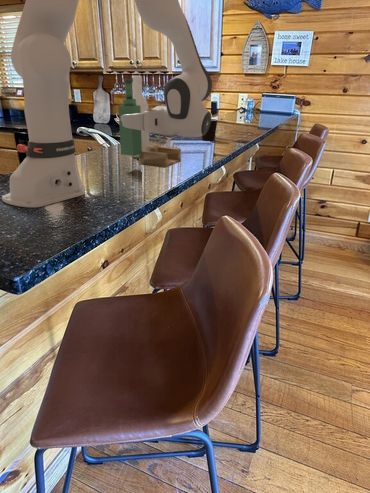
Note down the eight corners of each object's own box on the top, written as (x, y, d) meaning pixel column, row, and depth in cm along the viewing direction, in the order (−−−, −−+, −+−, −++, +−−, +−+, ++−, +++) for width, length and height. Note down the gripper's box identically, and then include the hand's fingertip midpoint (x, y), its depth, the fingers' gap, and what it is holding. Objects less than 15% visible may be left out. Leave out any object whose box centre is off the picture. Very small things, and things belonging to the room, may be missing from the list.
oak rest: (164, 167, 130) (164, 153, 128) (139, 164, 134) (138, 150, 132) (180, 161, 139) (180, 148, 137) (156, 158, 144) (156, 145, 142)
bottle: (146, 158, 144) (143, 75, 131) (128, 157, 146) (123, 75, 133) (152, 154, 151) (149, 75, 138) (134, 153, 153) (130, 75, 140)
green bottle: (133, 156, 123) (130, 78, 113) (120, 154, 126) (116, 77, 115) (141, 153, 128) (139, 78, 117) (129, 152, 130) (126, 78, 120)
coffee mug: (217, 141, 182) (218, 120, 177) (200, 141, 182) (200, 120, 178) (215, 138, 192) (216, 118, 188) (199, 137, 192) (200, 118, 188)
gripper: (178, 108, 123) (144, 106, 129) (145, 111, 107) (108, 109, 112) (178, 127, 126) (145, 124, 132) (145, 133, 109) (109, 130, 115)
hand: (127, 117), depth 122 cm, fingers closed on green bottle, 5 cm apart
